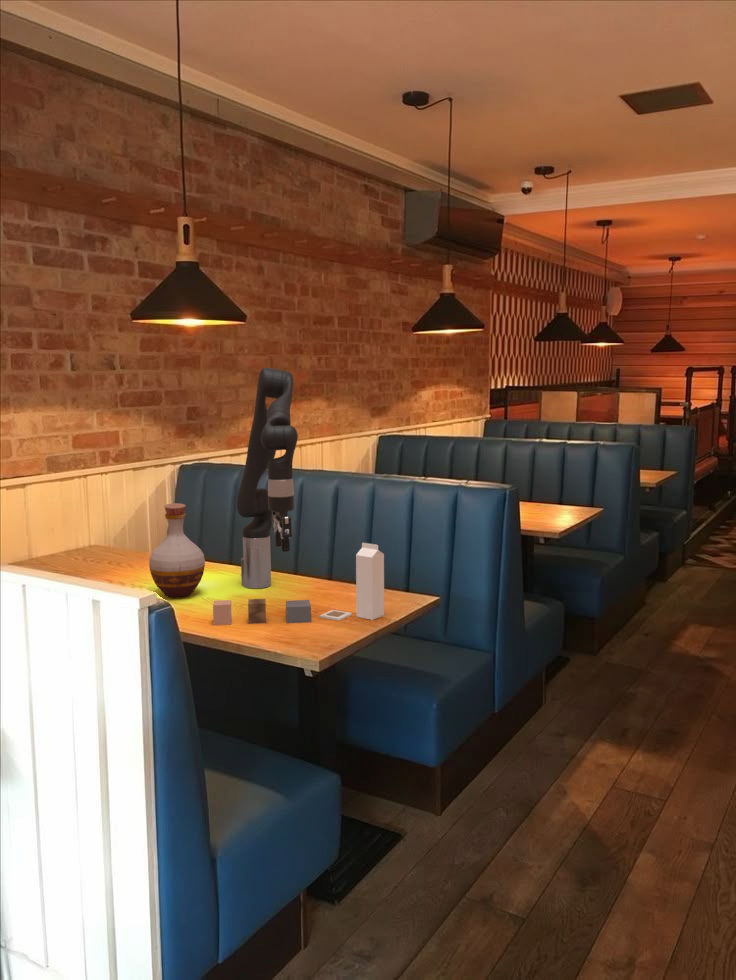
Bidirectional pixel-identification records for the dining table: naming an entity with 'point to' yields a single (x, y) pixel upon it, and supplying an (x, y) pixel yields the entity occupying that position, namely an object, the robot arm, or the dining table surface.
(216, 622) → the terracotta block
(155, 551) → the jug
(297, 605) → the charcoal block
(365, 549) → the milk
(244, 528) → the robot arm
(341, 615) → the tile
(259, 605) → the walnut block
